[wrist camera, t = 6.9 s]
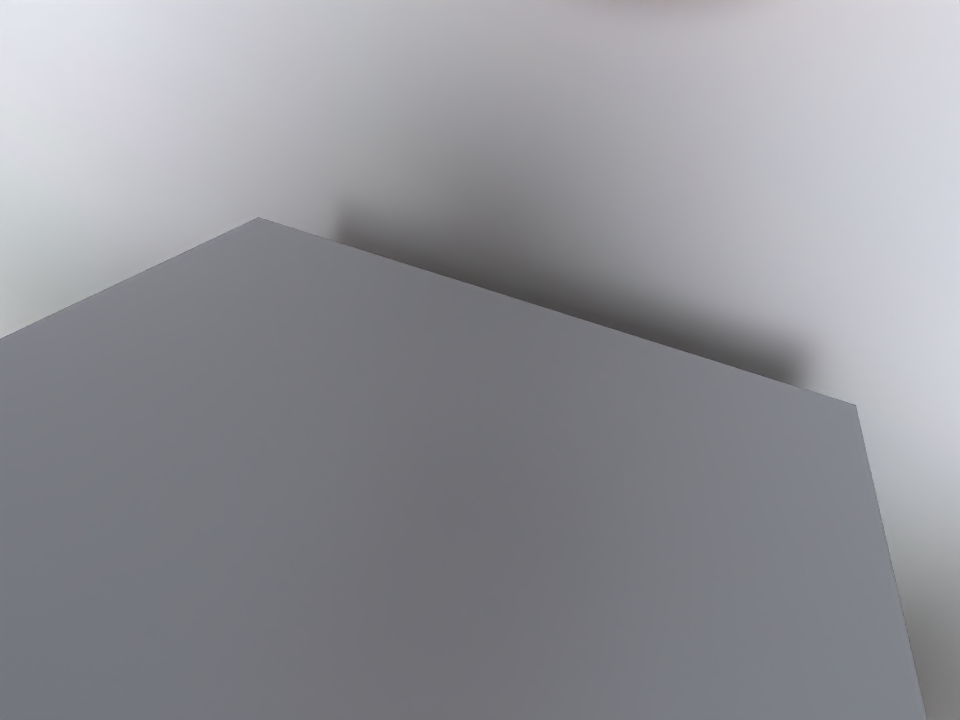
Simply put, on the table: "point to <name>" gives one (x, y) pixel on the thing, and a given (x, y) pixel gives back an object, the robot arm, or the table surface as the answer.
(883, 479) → the table surface
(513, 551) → the grey matte cube
